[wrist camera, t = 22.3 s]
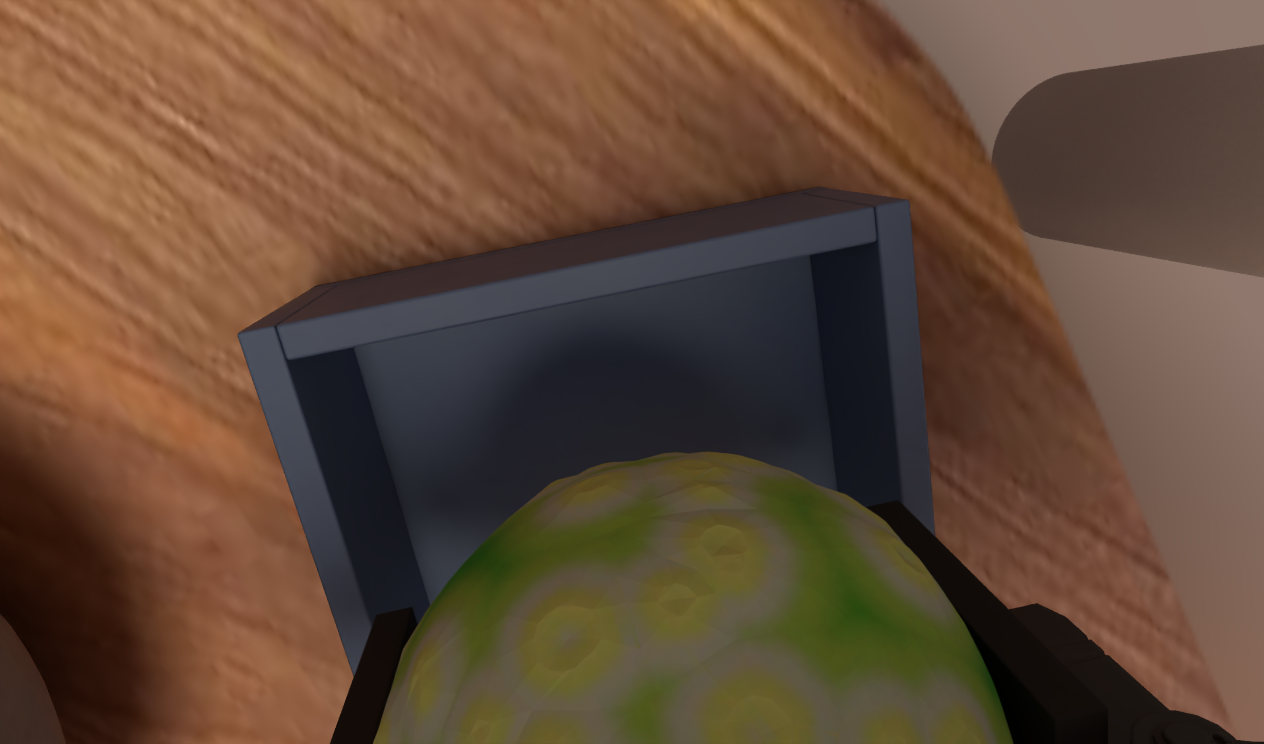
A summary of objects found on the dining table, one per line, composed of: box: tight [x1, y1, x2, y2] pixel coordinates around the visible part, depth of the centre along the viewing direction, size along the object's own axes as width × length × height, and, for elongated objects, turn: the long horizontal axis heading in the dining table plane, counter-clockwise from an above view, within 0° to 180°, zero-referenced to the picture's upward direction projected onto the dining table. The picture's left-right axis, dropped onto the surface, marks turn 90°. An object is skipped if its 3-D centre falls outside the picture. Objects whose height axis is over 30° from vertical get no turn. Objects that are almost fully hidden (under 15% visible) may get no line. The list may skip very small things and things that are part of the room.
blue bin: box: [238, 187, 935, 676], centre depth 21 cm, size 15×15×6 cm
